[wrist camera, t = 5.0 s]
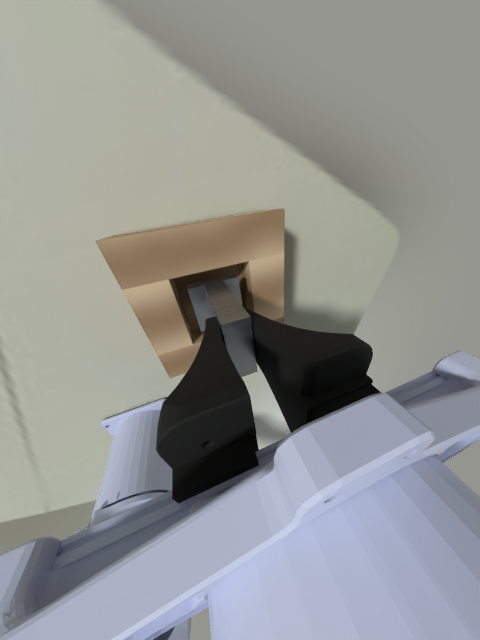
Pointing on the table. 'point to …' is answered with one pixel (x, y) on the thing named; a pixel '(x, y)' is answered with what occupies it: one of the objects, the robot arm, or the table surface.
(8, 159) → the table surface
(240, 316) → the grey block
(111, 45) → the table surface
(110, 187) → the table surface
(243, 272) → the well block
